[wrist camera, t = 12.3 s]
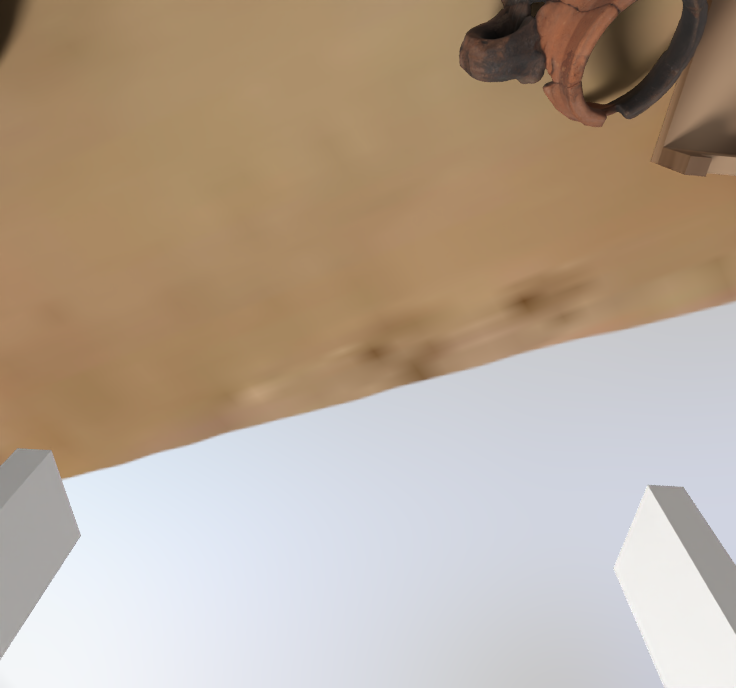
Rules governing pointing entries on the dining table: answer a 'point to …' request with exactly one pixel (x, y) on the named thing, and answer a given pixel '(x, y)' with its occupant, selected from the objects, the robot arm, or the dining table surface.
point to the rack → (704, 103)
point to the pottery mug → (572, 52)
